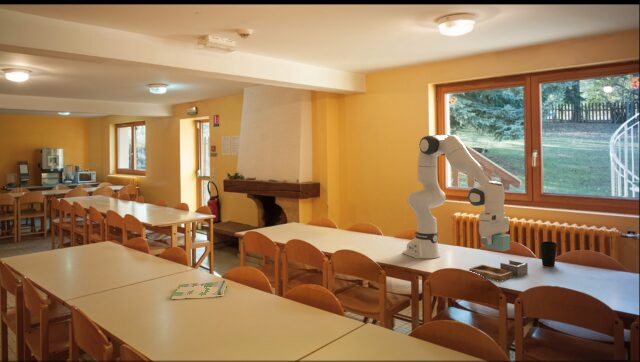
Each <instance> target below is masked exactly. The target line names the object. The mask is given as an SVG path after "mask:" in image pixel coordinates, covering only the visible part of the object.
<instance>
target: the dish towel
mask: <svg viewBox="0 0 640 362" xmlns="http://www.w3.org/2000/svg"><path fill="white" fill-rule="evenodd" d="M226 283H227V279H224V280H220V281H211V282H204V283H198V282H195V283H194V282H193V283H183V284H178V286H177V288H178V289H180V287H188V286H189V287H194V286H199V285H201V286H204V288H205V287H206V288H205V289H206V290H205V292H204V293H203V292H201V293H199V294H198V295H201V296H202V295H206V293H207V292H209V291H208V290H210V289H209V288H207V287H212V286H213V287H218V290H217V291H216V292H215V293H213V294H212V295H222V294H223V290H224V287H225V285H226ZM194 292H196V291H194V290H192V291H188V292H176V291H174V292H173V294H172V295H171V297H173V296H184V295H185V296H186V295H188V294H189V295H190V294H192V293H194Z"/></svg>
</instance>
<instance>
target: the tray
mask: <svg viewBox="0 0 640 362" xmlns="http://www.w3.org/2000/svg"><path fill="white" fill-rule="evenodd" d="M468 270H469V271H472V272H475V273H477V274H480V275H482V276H484V277H483V278H486V277H487V279H490V278H491V280H493V279H494V281H497V280H498V281H497V282H502V280H503V281H505V279H506V280H508V279H511V278H513V276H514V272H513V271H509V270H504V269H500V268H499V267H495V266H490V265H486V264H480V265H475V266H472V267H470V268H468ZM482 276H481V277H482ZM510 277H511V278H510ZM514 277H515V276H514Z"/></svg>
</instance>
